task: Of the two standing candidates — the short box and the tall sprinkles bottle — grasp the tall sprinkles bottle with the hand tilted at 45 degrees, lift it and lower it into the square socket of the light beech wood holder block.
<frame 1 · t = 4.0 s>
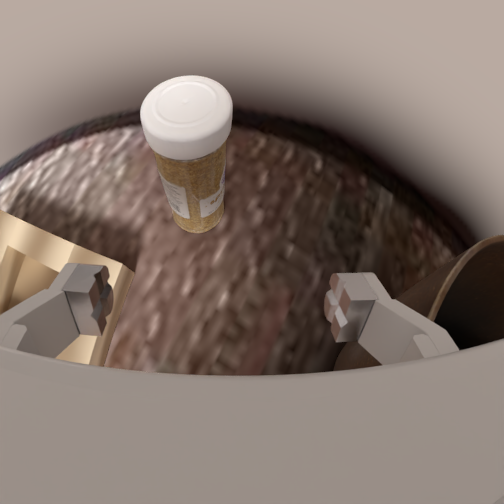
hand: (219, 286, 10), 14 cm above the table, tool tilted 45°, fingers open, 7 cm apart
plant pot: (370, 372, 24), on the table, touching gripper
holder: (39, 303, 22), on the table
sprinkles bottle: (197, 210, 26), on the table
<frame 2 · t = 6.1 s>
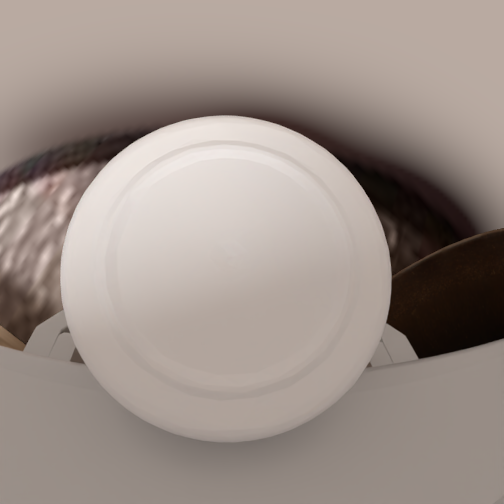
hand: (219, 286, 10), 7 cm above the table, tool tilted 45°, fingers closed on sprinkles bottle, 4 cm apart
plant pot: (483, 484, 10), point 5 cm above the table
holder: (7, 416, 12), on the table
sprinkles bottle: (217, 315, 16), on the table, touching gripper
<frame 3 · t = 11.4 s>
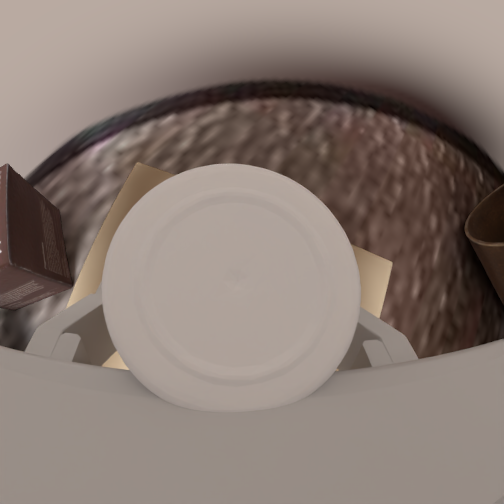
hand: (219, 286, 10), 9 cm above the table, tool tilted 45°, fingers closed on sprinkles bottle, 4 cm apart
holder: (223, 317, 18), on the table
sprinkles bottle: (213, 322, 18), resting on holder, touching gripper
box: (36, 261, 17), on the table
when the fingers open (8 cm above the table, at t = 11.7 s): sprinkles bottle stays where it is, resting on holder.
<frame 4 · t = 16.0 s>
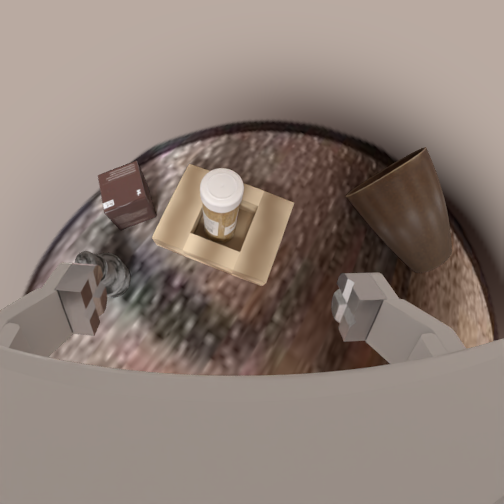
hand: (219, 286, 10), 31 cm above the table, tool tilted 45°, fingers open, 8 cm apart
plant pot: (433, 260, 41), point 5 cm above the table
holder: (224, 227, 43), on the table
sprinkles bottle: (219, 229, 43), resting on holder
box: (134, 207, 43), on the table
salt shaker: (113, 279, 40), on the table
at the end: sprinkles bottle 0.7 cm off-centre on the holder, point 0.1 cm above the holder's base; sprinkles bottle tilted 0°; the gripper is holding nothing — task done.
